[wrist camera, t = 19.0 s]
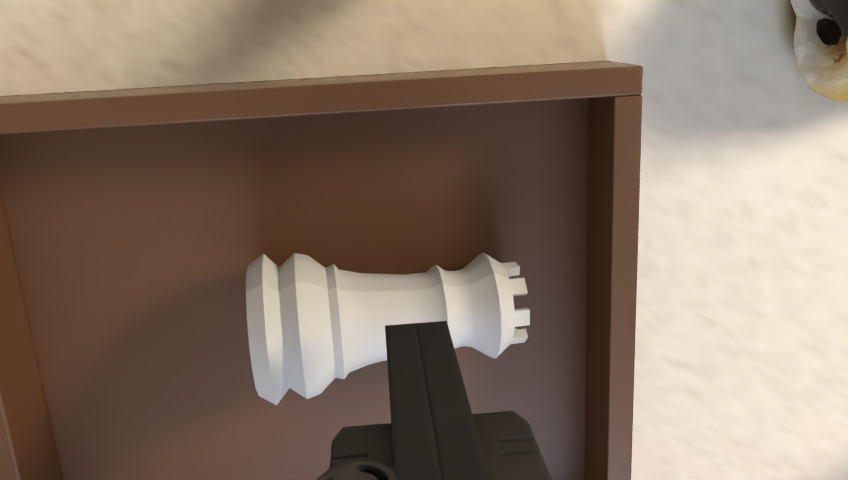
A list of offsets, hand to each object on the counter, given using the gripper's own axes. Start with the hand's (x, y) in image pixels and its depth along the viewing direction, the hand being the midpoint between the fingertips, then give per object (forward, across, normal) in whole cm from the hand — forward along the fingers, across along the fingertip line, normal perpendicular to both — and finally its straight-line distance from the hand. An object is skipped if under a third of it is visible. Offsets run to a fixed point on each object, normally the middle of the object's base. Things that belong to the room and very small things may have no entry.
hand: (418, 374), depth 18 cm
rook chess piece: (+4, -5, 0) cm, 6 cm away
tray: (+7, -3, -2) cm, 8 cm away
